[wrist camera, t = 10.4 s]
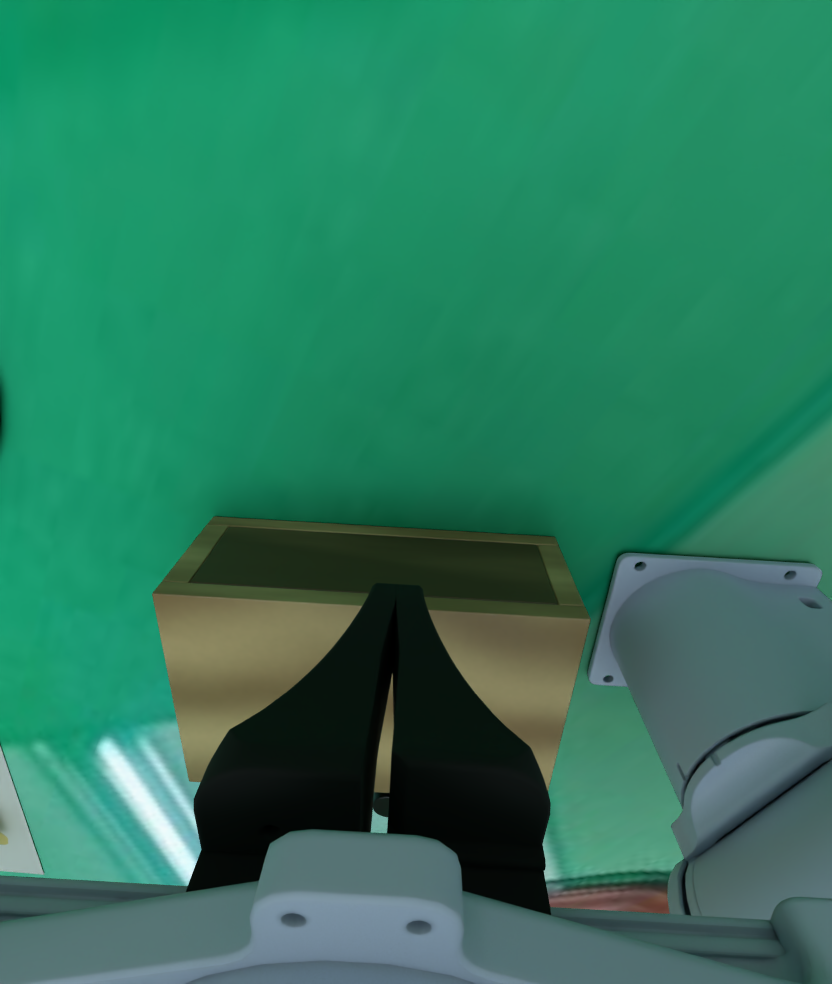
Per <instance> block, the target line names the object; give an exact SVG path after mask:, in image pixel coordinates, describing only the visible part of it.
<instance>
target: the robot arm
mask: <svg viewBox="0 0 832 984" xmlns="http://www.w3.org/2000/svg"><path fill="white" fill-rule="evenodd" d="M638 562H643V563H642V564H641V565H640V566H635V565H636V563H638ZM788 571H790V572H789V573H788V574H787V575H785V574H786V573H787V572H788ZM821 577H822V571H821V569H819V568H818V567H817V566H816V565H815V564H811V563H794V562H777V561H760V560H743V559H727V558H710V557H693V556H676V555H660V554H643V553H624V554H622V555H621V556H619V557H618V559H617V561H616V565H615V569H614V572H613V576H612V580H611V584H610V588H609V592H608V596H607V599H606V603H605V607H604V611H603V615H602V619H601V622H600V626H599V630H598V634H597V638H596V642H595V646H594V649H593V653H592V657H591V661H590V665H589V669H588V672H587V676H588V679H589V681H590V682H591V683H592V684H595V685H608V686H624V687H628V688H629V690H630V693H631V695H632V697H633V699H634V701H635V704H636V706H637V708H638V710H639V713H640V715H641V717H642V719H643V722H644V724H645V726H646V728H647V730H648V733H649V735H650V737H651V739H652V742H653V744H654V746H655V748H656V751H657V753H658V755H659V757H660V759H661V762H662V764H663V766H664V768H665V771H666V773H667V775H668V777H669V780H670V782H671V784H672V786H673V788H674V791H675V793H676V795H677V797H678V800H679V802H680V804H681V806H682V809H683V811H682V813H681V815H680V816H679V817H678V819H677V820H676V821H675V822H673V823H672V825H671V828H672V830H673V833H674V835H675V837H676V840H677V842H678V845H679V847H680V849H681V852H682V854H683V857H684V859H683V860H682V861H680V862H679V863H678V864H676V866H675V867H674V869H673V871H672V872H671V874H670V877H669V882H668V903H669V911H670V914H658V913H641V912H623V911H606V910H589V909H572V908H554V907H550V904H549V899H548V893H547V888H546V882H545V877H544V871H543V870H545V867H546V866H545V856H544V851H543V846H542V843H543V839H544V835H545V832H546V828H547V824H548V820H549V816H550V799H549V794H548V790H547V787H546V784H545V781H544V778H543V775H542V773H541V770H540V768H539V765H538V763H537V760H536V758H535V756H534V754H533V751H532V749H531V747H530V746H529V745H527V744H526V743H525V742H524V741H523V740H522V739H520V738H519V737H518V736H517V735H516V734H514V733H513V732H512V731H511V730H510V729H509V728H507V727H506V726H505V725H504V724H503V723H502V722H501V721H500V720H499V719H498V718H497V717H496V716H495V715H494V714H493V713H492V712H491V710H490V709H489V708H488V707H487V706H486V705H485V704H484V702H483V701H482V700H481V699H480V698H479V697H478V696H477V694H476V693H475V692H474V691H473V689H472V688H471V687H470V685H469V684H468V683H467V681H466V680H465V679H464V677H463V676H462V674H461V673H460V671H459V670H458V668H457V667H456V665H455V664H454V662H453V660H452V659H451V657H450V655H449V654H448V652H447V650H446V648H445V646H444V645H443V643H442V641H441V639H440V637H439V635H438V632H437V630H436V628H435V626H434V624H433V621H432V619H431V616H430V614H429V611H428V608H427V605H426V602H425V598H424V594H423V589H422V588H421V587H420V586H419V585H405V584H388V583H376V584H374V585H373V586H372V588H371V591H370V593H369V595H368V597H367V599H366V600H365V602H364V604H363V606H362V607H361V609H360V611H359V612H358V614H357V615H356V617H355V618H354V620H353V621H352V623H351V624H350V626H349V627H348V628H347V630H346V631H345V632H344V634H343V635H342V636H341V637H340V639H339V640H338V641H337V642H336V644H335V645H334V646H333V647H332V649H331V650H330V651H329V652H328V653H327V654H326V655H325V656H324V658H323V659H322V660H321V661H320V662H319V663H318V664H317V665H316V666H315V667H314V668H313V669H312V670H311V671H310V672H309V673H308V674H306V675H305V676H304V677H303V678H302V679H301V680H300V681H299V682H298V683H297V684H295V685H294V686H293V687H292V688H291V689H289V690H288V691H287V692H286V693H284V694H283V695H282V696H280V697H279V698H278V699H276V700H275V701H274V702H272V703H271V704H270V705H268V706H267V707H266V708H264V709H263V710H261V711H260V712H258V713H256V714H255V715H253V716H251V717H250V718H248V719H246V720H245V721H243V722H241V723H240V724H238V725H236V726H235V727H233V728H231V729H230V730H229V731H228V732H227V734H226V735H225V737H224V738H223V740H222V742H221V743H220V745H219V746H218V748H217V750H216V752H215V753H214V755H213V757H212V758H211V760H210V762H209V764H208V766H207V768H206V771H205V773H204V776H203V778H202V780H201V783H200V785H199V788H198V790H197V793H196V795H195V798H194V814H195V819H196V824H197V829H198V834H199V839H200V844H201V849H202V850H201V853H200V855H199V858H198V861H197V863H196V866H195V869H194V871H193V874H192V877H191V879H190V882H189V885H188V886H173V885H156V884H139V883H121V882H104V881H87V880H69V879H52V878H35V877H17V876H0V984H832V601H831V600H830V599H829V598H828V597H827V596H825V595H824V594H823V593H822V592H821V591H820V590H819V589H818V588H817V585H818V583H819V581H820V579H821ZM392 673H393V718H394V730H393V741H392V753H391V772H390V792H389V812H388V829H387V833H370V832H371V821H372V810H373V799H374V788H375V777H376V766H377V757H378V750H379V743H380V738H381V733H382V727H383V722H384V717H385V711H386V706H387V700H388V695H389V690H390V684H391V679H392ZM607 675H610V676H608V677H605V676H607Z"/></svg>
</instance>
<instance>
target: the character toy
mask: <svg viewBox="0 0 832 984" xmlns="http://www.w3.org/2000/svg"><path fill="white" fill-rule="evenodd" d="M0 871H9V872H21V873H32V874H44V873H43V870H42V867H41V864H40V861H39V858H38V855H37V852H36V849H35V846H34V843H33V840H32V838H31V835H30V832H29V829H28V826H27V823H26V820H25V817H24V814H23V811H22V808H21V805H20V802H19V800H18V797H17V794H16V791H15V788H14V785H13V782H12V779H11V776H10V773H9V770H8V767H7V764H6V761H5V759H4V756H3V753H2V750H1V747H0Z"/></svg>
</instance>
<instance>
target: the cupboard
mask: <svg viewBox="0 0 832 984" xmlns="http://www.w3.org/2000/svg"><path fill="white" fill-rule="evenodd" d="M376 583H388V584H405V585H419V586H420V587H421V588H422V589H423V594H424V598H425V602H426V605H427V608H428V611H429V614H430V616H431V619H432V621H433V624H434V626H435V628H436V630H437V632H438V635H439V637H440V639H441V641H442V643H443V645H444V646H445V648H446V650H447V652H448V654H449V655H450V657H451V659H452V660H453V662H454V664H455V665H456V667H457V668H458V670H459V671H460V673H461V674H462V676H463V677H464V679H465V680H466V681H467V683H468V684H469V685H470V687H471V688H472V689H473V691H474V692H475V693H476V694H477V696H478V697H479V698H480V699H481V700H482V701H483V702H484V704H485V705H486V706H487V707H488V708H489V709H490V710H491V712H492V713H493V714H494V715H495V716H496V717H497V718H498V719H499V720H500V721H501V722H502V723H503V724H504V725H505V726H506V727H507V728H509V729H510V730H511V731H512V732H513V733H514V734H516V735H517V736H518V737H519V738H520V739H522V740H523V741H524V742H525V743H526V744H527V745H529V746H530V747H531V749H532V751H533V754H534V756H535V758H536V760H537V763H538V765H539V768H540V770H541V773H542V775H543V778H544V781H545V784H546V787H547V790H548V789H549V785H550V781H551V777H552V773H553V769H554V765H555V761H556V757H557V753H558V749H559V745H560V741H561V737H562V733H563V729H564V725H565V721H566V717H567V713H568V709H569V705H570V701H571V697H572V693H573V688H574V684H575V680H576V676H577V672H578V668H579V664H580V660H581V656H582V652H583V648H584V644H585V640H586V636H587V632H588V628H589V624H590V617H589V615H588V612H587V610H586V608H585V607H584V604H583V602H582V599H581V597H580V595H579V592H578V590H577V588H576V585H575V583H574V581H573V578H572V576H571V574H570V571H569V569H568V567H567V564H566V562H565V560H564V557H563V555H562V553H561V550H560V548H559V545H558V543H557V540H556V538H555V537H549V536H532V535H516V534H499V533H482V532H465V531H448V530H432V529H415V528H398V527H381V526H365V525H348V524H331V523H314V522H298V521H281V520H264V519H247V518H231V517H213V518H212V519H211V520H210V522H209V523H208V524H207V525H206V526H205V528H204V529H203V530H202V531H201V533H200V534H199V535H198V536H197V538H196V539H195V540H194V541H193V543H192V544H191V545H190V547H189V548H188V549H187V550H186V552H185V553H184V554H183V555H182V557H181V558H180V559H179V560H178V562H177V563H176V564H175V565H174V567H173V568H172V569H171V571H170V572H169V573H168V574H167V576H166V577H165V578H164V579H163V581H162V582H161V583H160V584H159V586H158V587H157V588H156V589H155V591H154V592H153V594H152V596H153V601H154V606H155V611H156V616H157V621H158V626H159V631H160V636H161V641H162V646H163V651H164V656H165V661H166V666H167V672H168V677H169V682H170V687H171V692H172V697H173V702H174V707H175V712H176V717H177V722H178V727H179V732H180V737H181V742H182V747H183V753H184V758H185V763H186V768H187V773H188V778H189V781H191V782H201V780H202V778H203V776H204V773H205V771H206V768H207V766H208V764H209V762H210V760H211V758H212V757H213V755H214V753H215V752H216V750H217V748H218V746H219V745H220V743H221V742H222V740H223V738H224V737H225V735H226V734H227V732H228V731H229V730H230V729H231V728H233V727H235V726H236V725H238V724H240V723H241V722H243V721H245V720H246V719H248V718H250V717H251V716H253V715H255V714H256V713H258V712H260V711H261V710H263V709H264V708H266V707H267V706H268V705H270V704H271V703H272V702H274V701H275V700H276V699H278V698H279V697H280V696H282V695H283V694H284V693H286V692H287V691H288V690H289V689H291V688H292V687H293V686H294V685H295V684H297V683H298V682H299V681H300V680H301V679H302V678H303V677H304V676H305V675H306V674H308V673H309V672H310V671H311V670H312V669H313V668H314V667H315V666H316V665H317V664H318V663H319V662H320V661H321V660H322V659H323V658H324V656H325V655H326V654H327V653H328V652H329V651H330V650H331V649H332V647H333V646H334V645H335V644H336V642H337V641H338V640H339V639H340V637H341V636H342V635H343V634H344V632H345V631H346V630H347V628H348V627H349V626H350V624H351V623H352V621H353V620H354V618H355V617H356V615H357V614H358V612H359V611H360V609H361V607H362V606H363V604H364V602H365V600H366V599H367V597H368V595H369V593H370V591H371V588H372V586H373V585H374V584H376ZM393 730H394V718H393V673H392V679H391V684H390V690H389V695H388V700H387V706H386V711H385V717H384V722H383V727H382V733H381V738H380V743H379V750H378V757H377V766H376V777H375V788H374V792H380V793H389V792H390V772H391V753H392V741H393Z"/></svg>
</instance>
